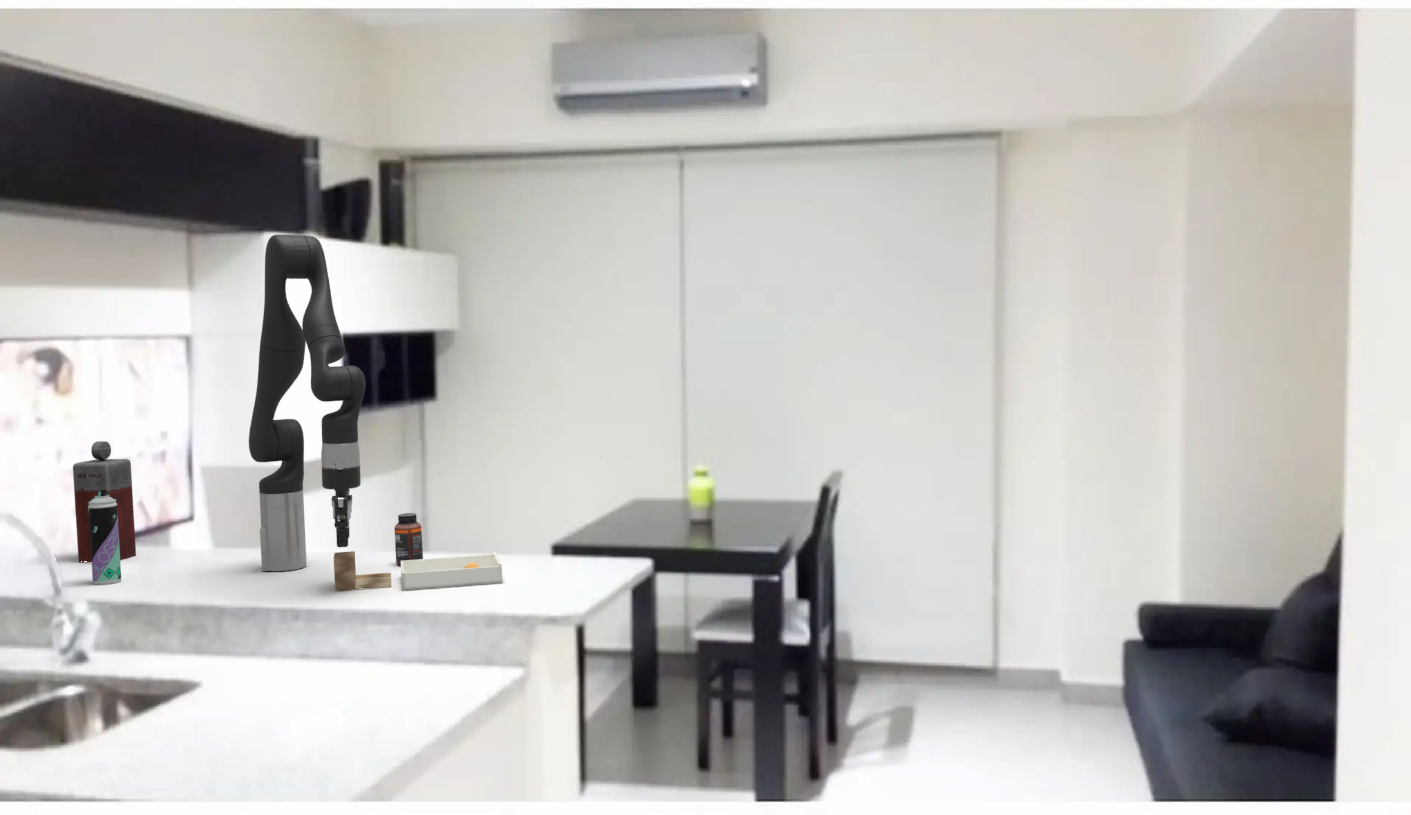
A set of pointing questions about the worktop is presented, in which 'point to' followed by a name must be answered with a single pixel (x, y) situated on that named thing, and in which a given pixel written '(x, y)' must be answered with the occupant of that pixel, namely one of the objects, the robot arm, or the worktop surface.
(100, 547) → the spray can
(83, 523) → the red and grey canister
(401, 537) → the supplement bottle
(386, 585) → the scoop
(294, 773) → the worktop surface
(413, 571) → the tray
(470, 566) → the ball
